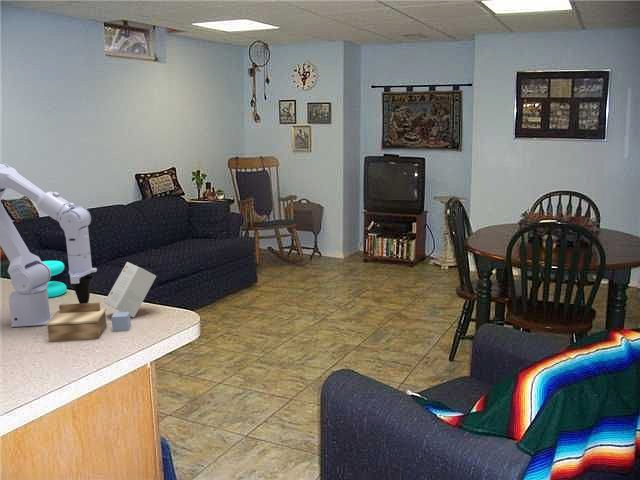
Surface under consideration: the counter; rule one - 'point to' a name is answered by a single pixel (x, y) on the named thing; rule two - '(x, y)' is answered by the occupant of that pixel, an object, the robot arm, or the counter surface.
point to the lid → (77, 314)
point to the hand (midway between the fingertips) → (84, 302)
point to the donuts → (55, 286)
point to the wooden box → (77, 330)
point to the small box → (130, 289)
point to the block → (121, 321)
